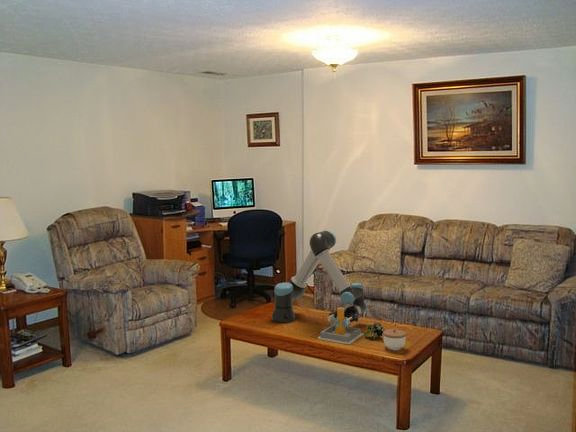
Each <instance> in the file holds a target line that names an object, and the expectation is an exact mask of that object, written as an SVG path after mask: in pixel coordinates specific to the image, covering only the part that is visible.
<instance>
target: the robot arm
mask: <svg viewBox="0 0 576 432" xmlns="http://www.w3.org/2000/svg"><path fill="white" fill-rule="evenodd" d="M336 242H337V239H336V235H335V234H334V233H333V232H332V231H331V230H322V231H319V232H315V233H313V234H312V235H311V236H310V238H309V247H310V251H309V252H308V254H307V256H306V258H305V259H304V261H303V262H302V264H301V266H300V267H299V269H298V270H297V272H296V273H295V276H292V277H291V278H290V280H289V281H288V282H279V283H277V284H276V285H275V286H274V309H273V311H272V314H271V321H272V322H275V323H281V324H286V323H287V324H288V323H292V322H295V321H296V316H295V311H294V309H293V302H294V301H296V300H298V299H301V297H303V296H304V294H305V293H306V289H307V286H308V285H307V283H308V281H309V279H310V278H311V276H312V274H313V273H314V271H315V269H316V268H317V266H318V265H319V263H320V264H321V266H323V268H324V270H325V271H326V273H327V275H328V276H329V278H330V280H331V281H332V283H333V284H334V286H335V287H336V289H337V290H338V292H339V293H340V301H341V303H343V304H345V305H350V304H352V305H350V306H348V307H346V309H344V317H346V319H347V320H346V324H347V325H349V324H350V323H351V324H352V323H353V322H356V323H358V322H359V319H360V315H362V314H364V313H365V311H367V309H368V304H367V302H366V301H365V298H364V297H365V296H364V287H363V284H362V283H361V282H355V283H351V284H349V282H348V281H347V279H346V277H345V275H344V274H343V273H342V271H341V270H340V268H339V266H338V265H337V263H336V262H335V260H334V258H333V257H332V254H331V253H330V250H331V249H332V248H333V247H335V245H336V244H337V243H336ZM336 317H337V311H334V312H333V311H332V312H329V316H328V318H327V319H328V320H327V321H328V322H329V323H330V321H331V319H335V318H336Z"/></svg>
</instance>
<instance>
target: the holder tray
mask: <svg viewBox="0 0 576 432" xmlns="http://www.w3.org/2000/svg"><path fill="white" fill-rule="evenodd" d="M362 336H364V332H363V333H362V331H361V328H358V327H352V326H346V333H345V334H336V333H335V326H333V325H331V324H330V326H329V327H327V328H325V329H323V330H321V331H320V333H319V336H318V337H317V340H322V341H328V342H333V343H338V344H343V345H351V344H353V343H354V342H355V341H356V340H358V339H360V337H362Z"/></svg>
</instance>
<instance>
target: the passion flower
mask: <svg viewBox="0 0 576 432" xmlns="http://www.w3.org/2000/svg"><path fill="white" fill-rule="evenodd" d="M384 330H386V329H385V328H384V326H382V324H381V323H380V322H379V321H378V322H377V321H376V322H374V323H372V324H370V323H369V324H368V326H367V329H366V330H365V331H364V332H363V336H364V337H365V338H366V337H367V336H369V337H370V338H372V337H373V339H372V341H374V340H375V339H376V337H383V331H384Z"/></svg>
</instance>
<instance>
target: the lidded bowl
mask: <svg viewBox="0 0 576 432" xmlns="http://www.w3.org/2000/svg"><path fill="white" fill-rule="evenodd" d="M382 335H383V336H382V339H383V344H384V345H385V347H386V348H387V349H388V350H391V351H400V350H401V349H402V348H403V347H404V346H405V343H406V339H407V338H406V337H407V333H406V332H405V331H404V330H402V329H397V328H390V329H385V330H384V331H383V334H382Z"/></svg>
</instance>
